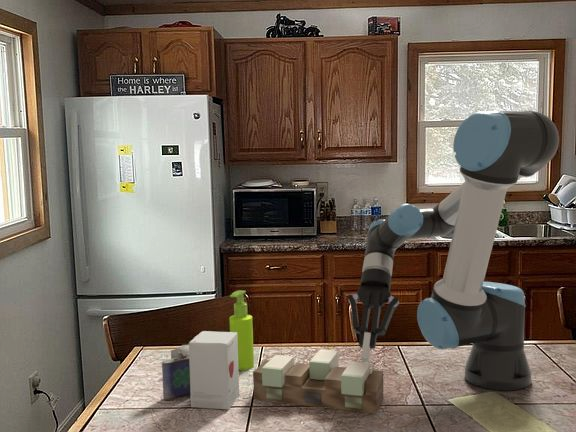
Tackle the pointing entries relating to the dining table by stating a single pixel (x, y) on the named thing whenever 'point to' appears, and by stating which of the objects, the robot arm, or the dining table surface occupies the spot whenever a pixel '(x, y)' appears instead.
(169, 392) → the flask
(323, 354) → the button middle
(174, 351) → the bunny figurine
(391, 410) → the dining table surface
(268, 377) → the button
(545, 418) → the dining table surface
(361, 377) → the button
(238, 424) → the dining table surface
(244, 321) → the soap dispenser
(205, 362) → the supplement box
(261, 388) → the brown wooden slotted rack
